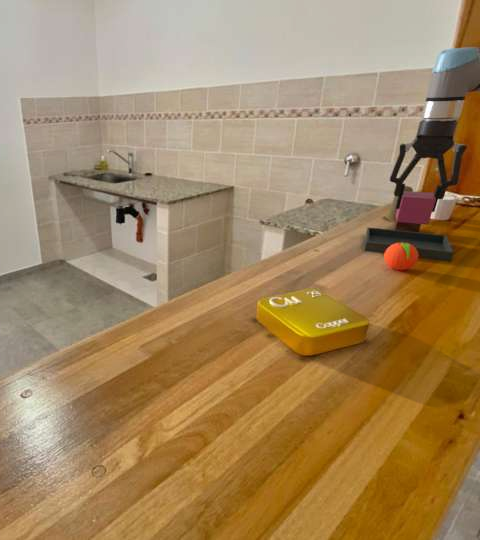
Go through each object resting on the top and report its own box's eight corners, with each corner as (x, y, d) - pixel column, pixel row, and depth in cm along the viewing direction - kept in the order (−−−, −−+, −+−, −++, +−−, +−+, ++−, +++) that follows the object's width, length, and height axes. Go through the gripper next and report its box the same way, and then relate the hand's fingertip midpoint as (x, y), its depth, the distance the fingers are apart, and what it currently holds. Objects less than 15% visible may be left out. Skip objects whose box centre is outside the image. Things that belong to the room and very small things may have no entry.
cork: (385, 214, 136) (393, 184, 132) (406, 216, 133) (414, 185, 129) (386, 219, 132) (393, 187, 127) (407, 221, 129) (416, 188, 124)
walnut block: (416, 229, 121) (420, 213, 119) (417, 234, 117) (422, 219, 115) (393, 226, 124) (397, 212, 122) (394, 232, 120) (398, 217, 118)
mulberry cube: (428, 224, 101) (436, 198, 98) (396, 221, 105) (403, 196, 102) (425, 217, 107) (433, 192, 104) (395, 215, 110) (401, 190, 107)
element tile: (302, 359, 67) (306, 336, 65) (251, 317, 80) (253, 297, 78) (370, 341, 70) (376, 319, 68) (311, 303, 83) (314, 284, 81)
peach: (420, 277, 92) (428, 250, 89) (386, 275, 94) (393, 248, 91) (409, 264, 98) (416, 238, 96) (378, 262, 101) (384, 237, 98)
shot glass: (431, 220, 128) (437, 200, 125) (421, 214, 134) (427, 195, 131) (455, 220, 126) (462, 200, 124) (444, 214, 132) (450, 195, 130)
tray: (443, 243, 110) (446, 235, 109) (450, 261, 99) (453, 252, 98) (365, 235, 119) (367, 227, 118) (364, 250, 108) (366, 242, 107)
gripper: (488, 117, 93) (458, 209, 102) (390, 119, 103) (371, 202, 112) (496, 119, 87) (463, 216, 97) (391, 121, 97) (371, 209, 106)
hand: (414, 209), depth 104 cm, fingers closed on mulberry cube, 7 cm apart
